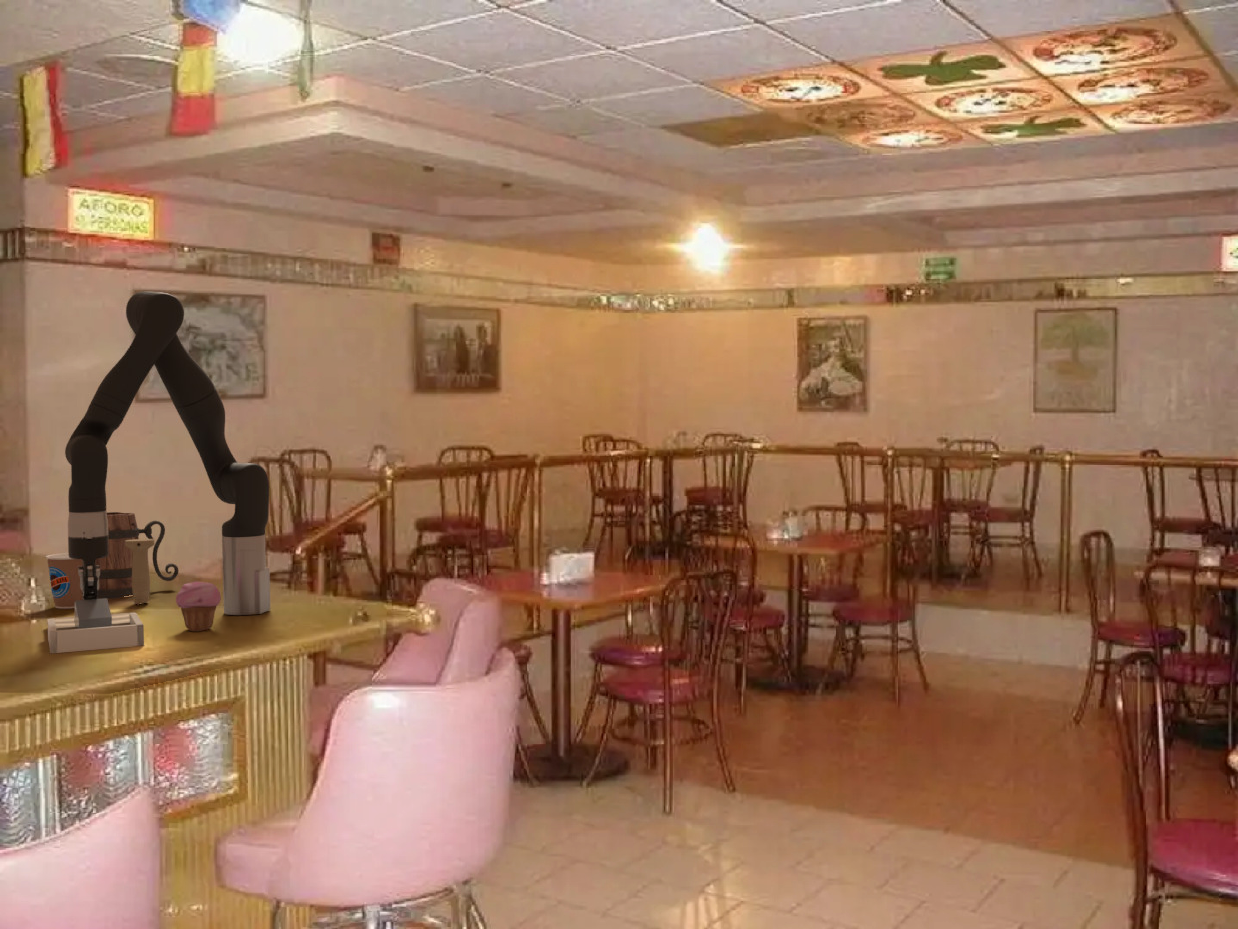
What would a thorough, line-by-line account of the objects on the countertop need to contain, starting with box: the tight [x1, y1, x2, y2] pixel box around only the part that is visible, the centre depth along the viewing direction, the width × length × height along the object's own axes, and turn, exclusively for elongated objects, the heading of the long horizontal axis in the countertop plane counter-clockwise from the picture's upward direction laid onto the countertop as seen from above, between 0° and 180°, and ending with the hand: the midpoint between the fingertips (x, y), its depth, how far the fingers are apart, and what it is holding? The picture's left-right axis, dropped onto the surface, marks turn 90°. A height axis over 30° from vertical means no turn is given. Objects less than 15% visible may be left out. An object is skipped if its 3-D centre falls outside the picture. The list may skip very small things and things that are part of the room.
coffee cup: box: [45, 552, 83, 610], centre depth 295 cm, size 10×10×12 cm
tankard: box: [96, 511, 179, 600], centre depth 316 cm, size 24×17×20 cm
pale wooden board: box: [46, 612, 130, 631], centre depth 262 cm, size 14×16×2 cm
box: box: [47, 612, 145, 654], centre depth 248 cm, size 17×16×4 cm
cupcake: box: [175, 580, 221, 633], centre depth 261 cm, size 9×9×10 cm
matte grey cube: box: [73, 598, 112, 629], centre depth 252 cm, size 7×6×5 cm
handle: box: [125, 538, 155, 605], centre depth 297 cm, size 5×6×15 cm
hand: (90, 619), depth 257 cm, fingers closed
